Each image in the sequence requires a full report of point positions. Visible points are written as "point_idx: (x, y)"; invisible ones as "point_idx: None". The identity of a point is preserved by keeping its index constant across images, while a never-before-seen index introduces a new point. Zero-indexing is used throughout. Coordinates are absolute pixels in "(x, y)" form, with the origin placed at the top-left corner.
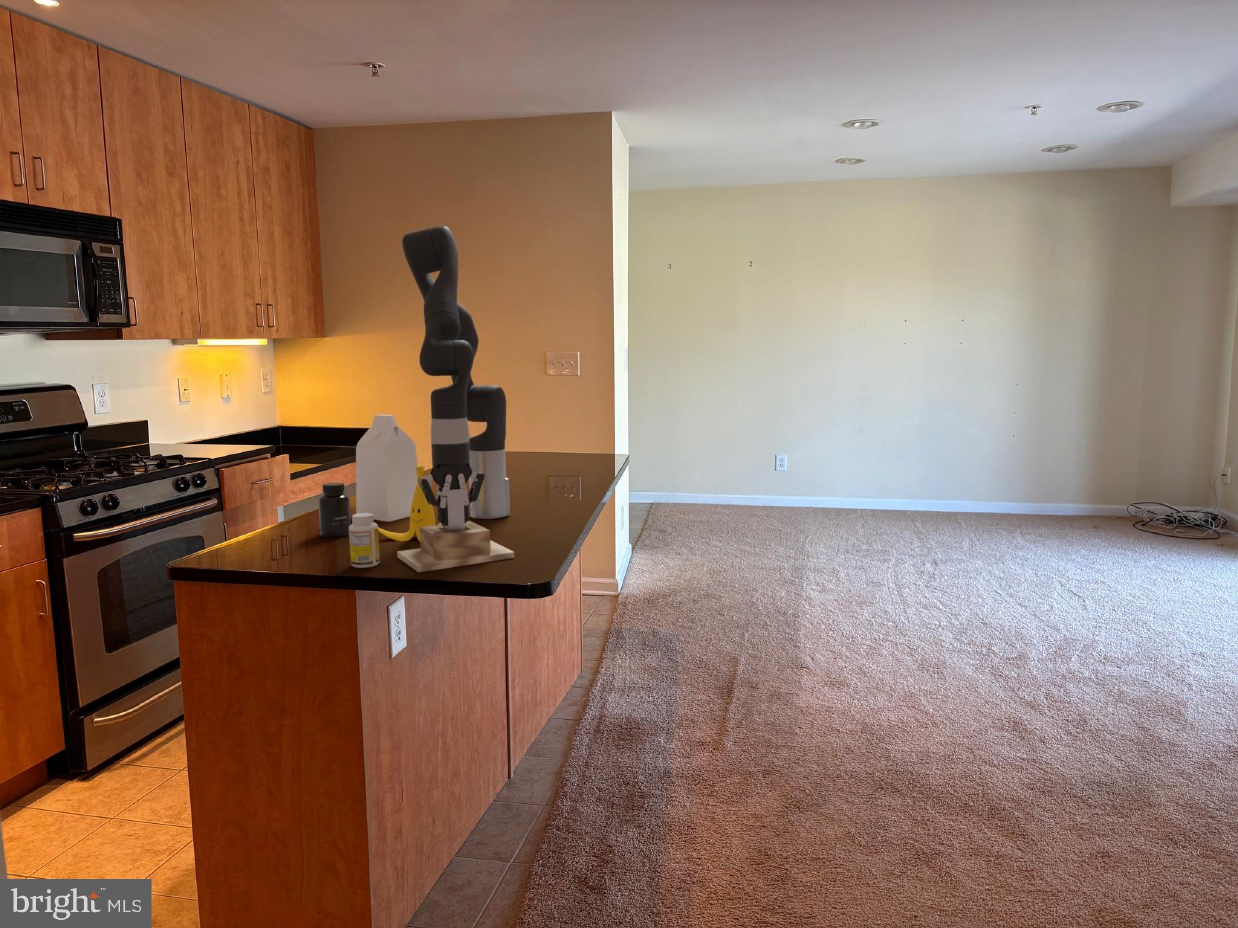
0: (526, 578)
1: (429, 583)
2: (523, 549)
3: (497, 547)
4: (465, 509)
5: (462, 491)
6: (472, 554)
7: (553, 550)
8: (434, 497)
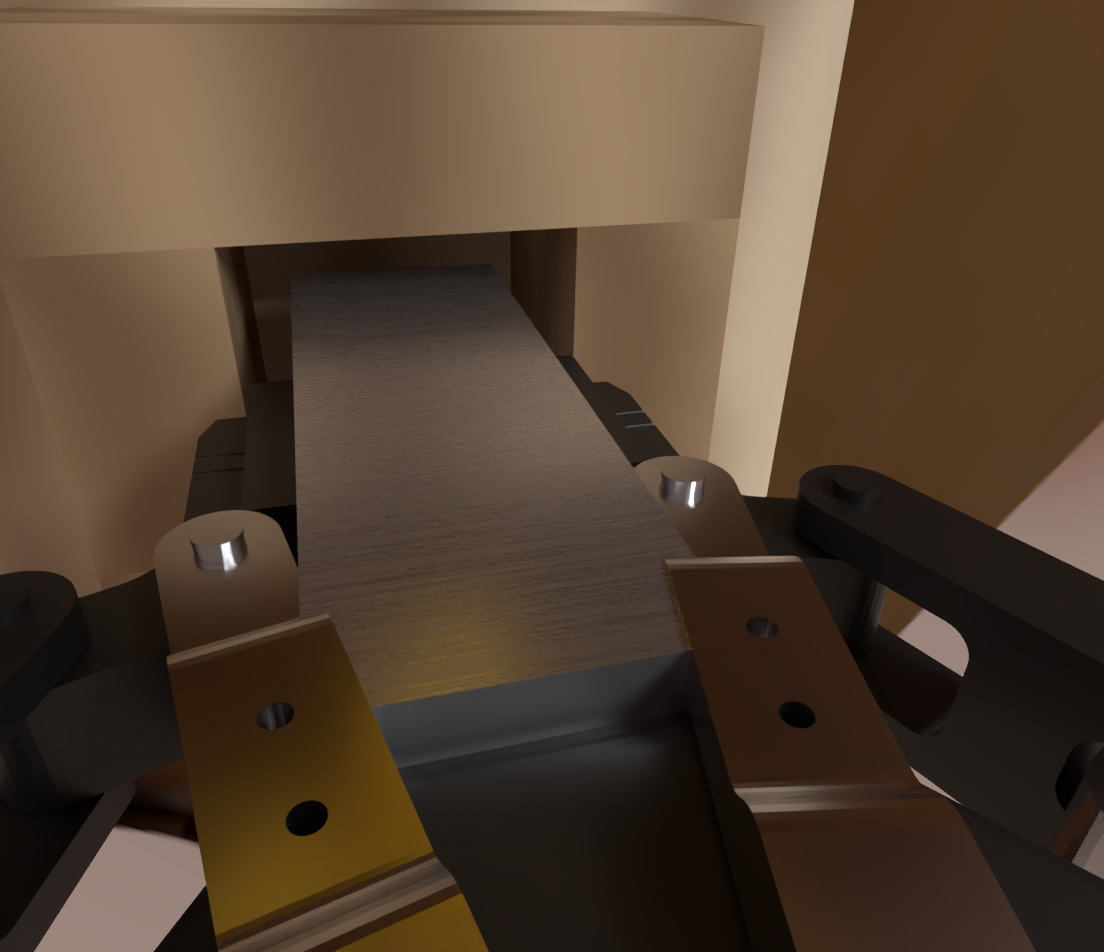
0: None
1: None
2: (920, 302)
3: (747, 334)
4: None
5: None
6: None
7: (1021, 424)
8: (59, 895)
